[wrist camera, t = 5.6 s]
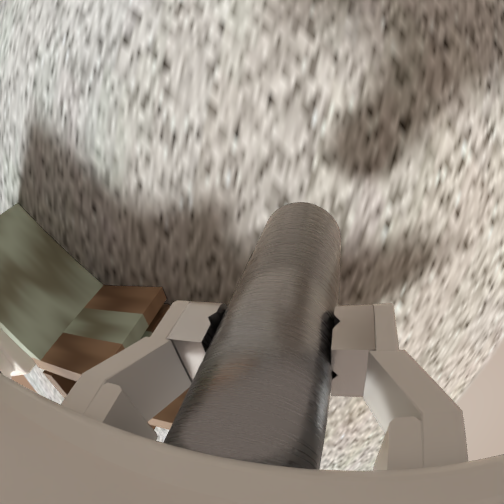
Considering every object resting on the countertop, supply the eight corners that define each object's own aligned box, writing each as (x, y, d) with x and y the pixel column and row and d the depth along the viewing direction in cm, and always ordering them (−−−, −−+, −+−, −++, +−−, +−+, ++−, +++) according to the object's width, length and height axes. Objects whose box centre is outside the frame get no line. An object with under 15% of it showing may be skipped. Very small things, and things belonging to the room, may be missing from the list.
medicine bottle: (23, 267, 25) (-57, 350, 15) (68, 324, 27) (0, 414, 17) (7, 287, 28) (-58, 357, 18) (45, 334, 31) (-12, 408, 21)
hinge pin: (352, 257, 12) (308, 616, 2) (284, 278, 14) (181, 584, 4) (322, 190, 11) (211, 627, 1) (251, 218, 13) (72, 549, 3)
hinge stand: (80, 336, 28) (37, 395, 21) (13, 204, 21) (-57, 256, 14) (332, 363, 21) (318, 469, 14) (316, 147, 14) (295, 232, 7)
